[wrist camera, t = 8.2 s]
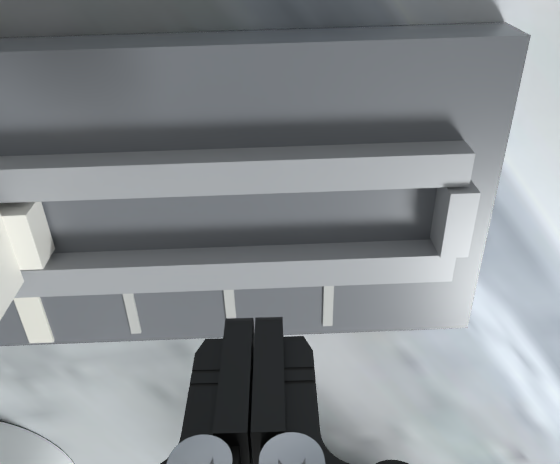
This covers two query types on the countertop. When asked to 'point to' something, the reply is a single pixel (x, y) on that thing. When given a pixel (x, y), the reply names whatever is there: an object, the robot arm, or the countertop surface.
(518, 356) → the countertop surface
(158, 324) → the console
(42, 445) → the tall pillar cylinder
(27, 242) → the fader tab
